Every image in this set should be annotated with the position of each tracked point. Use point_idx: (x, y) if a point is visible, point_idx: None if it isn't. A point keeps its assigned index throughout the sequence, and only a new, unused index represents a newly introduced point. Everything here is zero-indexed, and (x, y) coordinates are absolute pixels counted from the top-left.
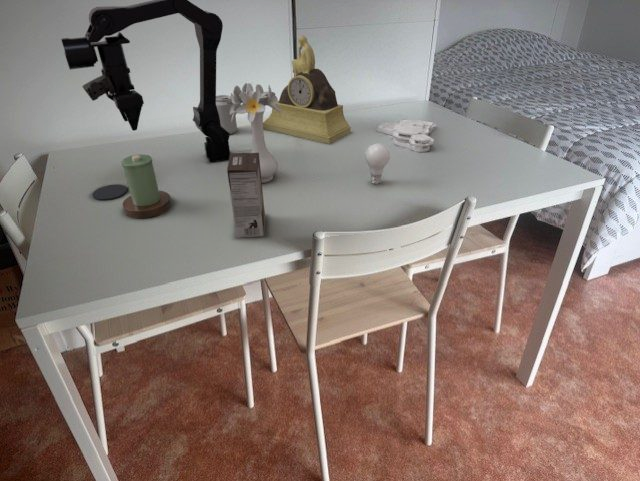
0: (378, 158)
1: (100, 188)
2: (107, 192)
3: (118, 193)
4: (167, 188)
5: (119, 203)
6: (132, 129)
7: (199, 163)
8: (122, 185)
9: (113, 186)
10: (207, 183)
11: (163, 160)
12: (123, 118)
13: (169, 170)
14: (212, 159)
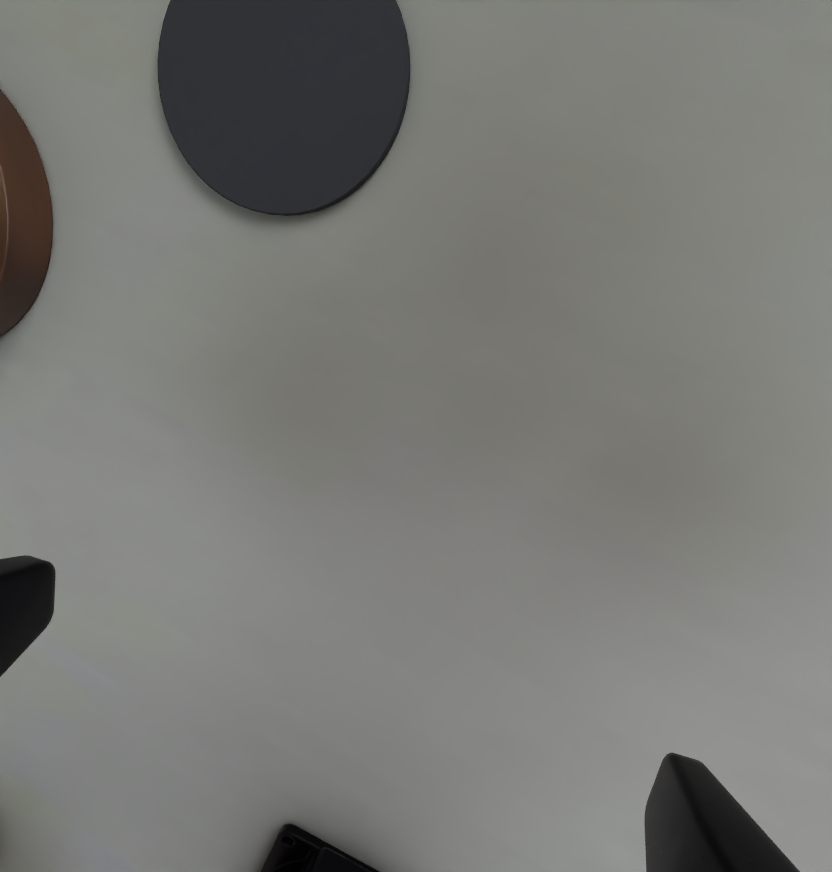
0: None
1: (387, 26)
2: (271, 49)
3: (199, 116)
4: (104, 426)
5: (78, 68)
6: (8, 562)
7: (327, 775)
8: (317, 202)
9: (349, 135)
10: None
11: (573, 669)
12: (684, 788)
13: (361, 591)
14: (291, 850)
